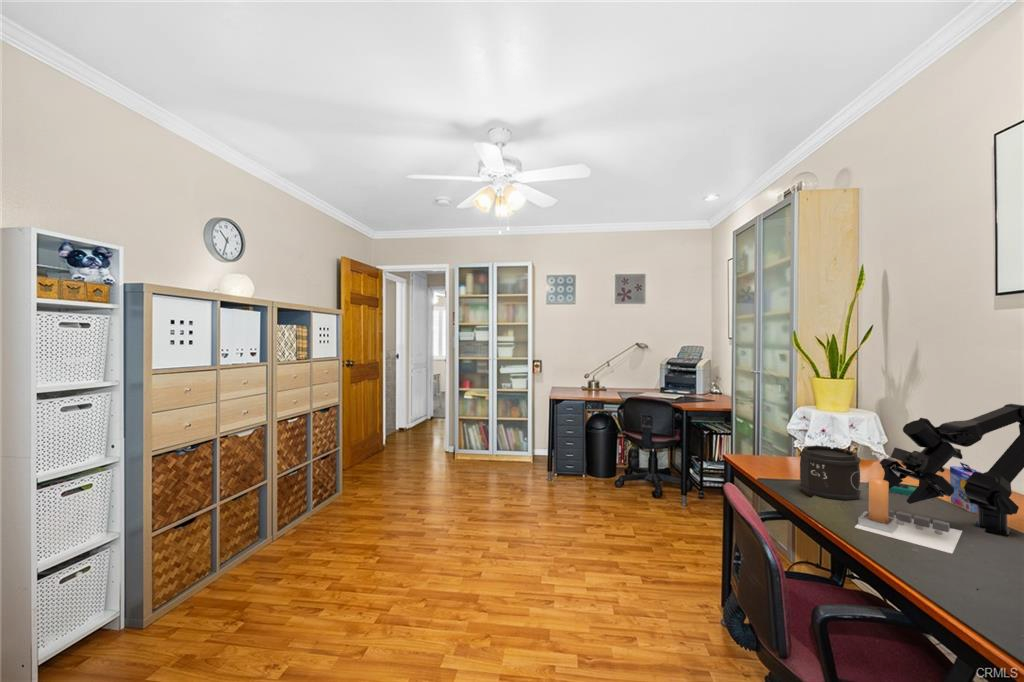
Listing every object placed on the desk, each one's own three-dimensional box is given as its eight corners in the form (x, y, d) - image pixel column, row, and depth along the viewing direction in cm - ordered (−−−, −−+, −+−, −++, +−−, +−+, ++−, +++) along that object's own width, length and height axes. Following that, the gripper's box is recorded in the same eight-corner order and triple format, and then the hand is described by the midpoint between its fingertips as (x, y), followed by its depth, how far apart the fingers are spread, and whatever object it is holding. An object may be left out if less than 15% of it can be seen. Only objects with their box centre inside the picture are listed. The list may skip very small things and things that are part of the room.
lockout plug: (874, 520, 130) (874, 477, 130) (891, 526, 126) (892, 482, 126) (865, 523, 128) (865, 479, 128) (882, 529, 124) (882, 484, 124)
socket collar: (865, 517, 132) (865, 511, 132) (898, 525, 126) (898, 518, 126) (858, 524, 128) (858, 517, 128) (892, 533, 122) (892, 526, 122)
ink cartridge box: (948, 501, 148) (948, 459, 147) (969, 503, 146) (968, 460, 146) (970, 513, 138) (970, 467, 138) (992, 514, 137) (992, 468, 136)
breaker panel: (872, 513, 138) (872, 503, 138) (962, 535, 123) (962, 523, 123) (854, 531, 126) (854, 520, 126) (952, 558, 110) (952, 545, 110)
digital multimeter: (869, 484, 166) (869, 476, 166) (922, 494, 156) (922, 485, 156) (867, 489, 161) (867, 481, 161) (922, 499, 151) (922, 491, 151)
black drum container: (853, 490, 160) (852, 447, 159) (869, 507, 143) (868, 459, 143) (795, 483, 167) (794, 442, 167) (803, 499, 151) (803, 454, 151)
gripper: (885, 432, 136) (849, 467, 136) (942, 447, 117) (901, 488, 118) (911, 456, 136) (875, 492, 136) (973, 475, 117) (931, 517, 117)
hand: (894, 496), depth 127 cm, fingers open, 9 cm apart
